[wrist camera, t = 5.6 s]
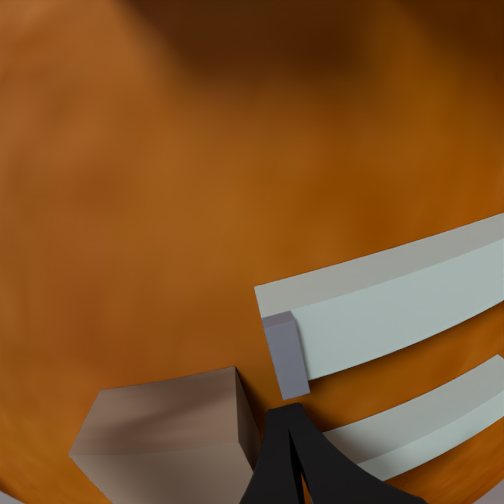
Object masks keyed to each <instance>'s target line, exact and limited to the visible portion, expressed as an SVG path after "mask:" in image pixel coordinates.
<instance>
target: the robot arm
mask: <svg viewBox="0 0 504 504" xmlns="http://www.w3.org/2000/svg"><path fill="white" fill-rule="evenodd" d="M301 473H302V475H303V478H304V481H305V483H306V486H307V489H308V491H309V494H310V496H311V499H312V502H313V504H428V503H427V502H426V501H425V500H424V499H422V498H420V497H417V496H414V495H411V494H409V493H406V492H404V491H401V490H399V489H397V488H395V487H393V486H391V485H389V484H387V483H385V482H383V481H382V480H380V479H378V478H376V477H375V476H373V475H371V474H370V473H368V472H366V471H365V470H363V469H362V468H361V467H359V466H358V465H356V464H355V463H354V462H352V461H351V460H350V459H349V458H347V457H346V456H345V455H344V454H343V453H341V452H340V451H339V450H338V449H337V448H336V447H335V446H334V445H333V444H332V443H331V442H330V441H329V440H328V439H327V438H326V437H325V436H324V435H323V434H322V432H321V431H320V430H319V429H318V428H317V427H316V425H315V424H314V423H313V422H312V420H311V419H310V418H309V416H308V415H307V413H306V411H305V410H304V408H303V406H302V404H301V403H299V402H297V403H294V404H290V405H286V406H282V407H278V408H274V409H270V410H268V411H267V412H266V426H265V432H264V438H263V442H262V446H261V450H260V454H259V457H258V460H257V463H256V466H255V469H254V472H253V475H252V477H251V480H250V482H249V484H248V487H247V489H246V491H245V493H244V495H243V497H242V499H241V500H240V502H239V504H305V499H304V492H303V484H302V477H301Z"/></svg>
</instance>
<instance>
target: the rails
mask: <svg viewBox="0 0 504 504" xmlns="http://www.w3.org/2000/svg"><path fill="white" fill-rule="evenodd" d="M254 289H255V293H256V297H257V302H258V306H259V310H260V315H261V319H262V323H263V328H264V331H265V335H266V339H267V342H268V346H269V350H270V354H271V357H272V361H273V365H274V368H275V372H276V376H277V379H278V383H279V387H280V390H281V394H282V397H283V400H286V399H290V398H293V397H297V396H301V395H304V394H308V393H310V390H309V385H308V380H311V379H315V378H318V377H321V376H325V375H328V374H331V373H334V372H338V371H341V370H344V369H347V368H350V367H353V366H356V365H359V364H361V363H364V362H367V361H370V360H373V359H375V358H378V357H381V356H383V355H386V354H389V353H391V352H394V351H396V350H399V349H402V348H404V347H407V346H409V345H411V344H414V343H416V342H419V341H421V340H423V339H426V338H428V337H430V336H433V335H435V334H437V333H439V332H441V331H444V330H446V329H448V328H450V327H452V326H454V325H457V324H459V323H461V322H463V321H465V320H467V319H469V318H471V317H473V316H475V315H477V314H479V313H481V312H483V311H485V310H486V309H488V308H490V307H492V306H494V305H496V304H498V303H499V302H501V301H503V300H504V213H501V214H498V215H495V216H492V217H489V218H486V219H483V220H480V221H477V222H474V223H471V224H468V225H465V226H462V227H459V228H456V229H453V230H450V231H446V232H443V233H440V234H437V235H434V236H431V237H427V238H424V239H421V240H418V241H414V242H411V243H408V244H405V245H401V246H398V247H395V248H391V249H388V250H385V251H381V252H378V253H374V254H371V255H368V256H364V257H361V258H357V259H354V260H350V261H347V262H343V263H340V264H336V265H333V266H329V267H326V268H322V269H318V270H315V271H311V272H308V273H304V274H300V275H297V276H293V277H289V278H286V279H282V280H278V281H274V282H271V283H267V284H263V285H259V286H255V287H254ZM503 416H504V359H503V358H502V357H500V356H499V355H498V354H497V355H496V356H494V357H492V358H491V359H489V360H487V361H486V362H484V363H482V364H481V365H479V366H477V367H476V368H474V369H472V370H470V371H468V372H467V373H465V374H463V375H461V376H459V377H457V378H456V379H454V380H452V381H450V382H448V383H446V384H444V385H442V386H440V387H438V388H436V389H434V390H432V391H430V392H428V393H426V394H423V395H421V396H419V397H417V398H415V399H412V400H410V401H408V402H406V403H403V404H401V405H399V406H396V407H394V408H391V409H389V410H386V411H384V412H381V413H379V414H376V415H374V416H371V417H368V418H365V419H363V420H360V421H357V422H354V423H351V424H348V425H345V426H342V427H339V428H336V429H333V430H330V431H327V432H323V433H322V434H323V435H324V436H325V437H326V438H327V439H328V440H329V441H330V442H331V443H332V444H333V445H334V446H335V447H336V448H337V449H338V450H339V451H340V452H341V453H343V454H344V455H345V456H346V457H347V458H349V459H350V460H351V461H352V462H354V463H355V464H356V465H358V466H359V467H361V468H362V469H363V470H365V471H366V472H368V473H370V474H371V475H373V476H375V477H376V478H378V479H380V480H382V481H384V480H387V479H389V478H392V477H394V476H397V475H399V474H401V473H404V472H406V471H408V470H410V469H412V468H415V467H417V466H419V465H421V464H423V463H425V462H427V461H429V460H431V459H433V458H435V457H437V456H439V455H441V454H443V453H444V452H446V451H448V450H450V449H452V448H454V447H455V446H457V445H459V444H460V443H462V442H464V441H466V440H467V439H469V438H471V437H472V436H474V435H475V434H477V433H479V432H480V431H482V430H483V429H485V428H486V427H488V426H489V425H491V424H492V423H494V422H495V421H497V420H498V419H500V418H501V417H503ZM310 498H311V496H310ZM311 501H312V499H311ZM312 504H313V502H312Z"/></svg>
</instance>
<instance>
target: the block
mask: <svg viewBox="0 0 504 504" xmlns="http://www.w3.org/2000/svg"><path fill="white" fill-rule="evenodd" d="M261 446H262V445H261V437H260V432H259V430H258V427H257V425H256V422H255V419H254V417H253V414H252V412H251V409H250V406H249V404H248V401H247V398H246V396H245V393H244V390H243V388H242V385H241V382H240V379H239V377H238V374H237V371H236V368H235V366H232V367H228V368H224V369H219V370H215V371H210V372H205V373H201V374H196V375H191V376H186V377H181V378H175V379H170V380H164V381H158V382H153V383H146V384H140V385H134V386H127V387H120V388H112V389H104V390H100V392H99V393H98V395H97V397H96V399H95V401H94V403H93V405H92V407H91V409H90V411H89V413H88V415H87V417H86V419H85V421H84V423H83V425H82V427H81V429H80V431H79V433H78V435H77V437H76V439H75V441H74V443H73V445H72V447H71V449H70V452H69V454H68V455H69V456H70V457H71V459H72V460H73V461H74V462H75V463H76V464H77V466H78V467H79V468H80V469H81V470H82V471H83V473H84V474H85V475H86V476H87V477H88V478H89V479H90V480H91V481H92V482H93V483H94V485H95V486H96V487H97V488H98V489H99V490H100V491H101V492H102V493H103V494H104V495H105V496H106V497H107V498H108V499H109V500H110V501H111V502H112V503H113V504H239V502H240V500H241V499H242V497H243V495H244V493H245V491H246V489H247V487H248V484H249V482H250V480H251V477H252V475H253V472H254V469H255V466H256V463H257V460H258V457H259V454H260V450H261Z"/></svg>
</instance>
